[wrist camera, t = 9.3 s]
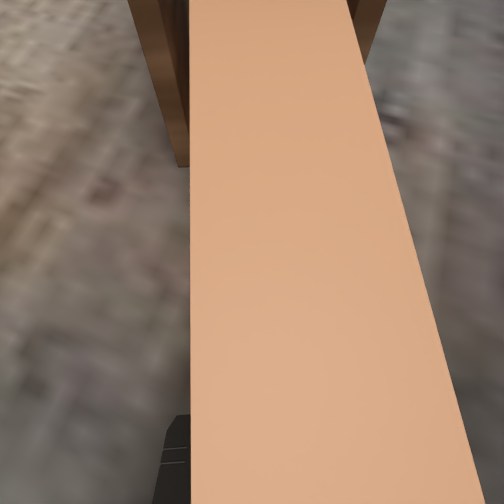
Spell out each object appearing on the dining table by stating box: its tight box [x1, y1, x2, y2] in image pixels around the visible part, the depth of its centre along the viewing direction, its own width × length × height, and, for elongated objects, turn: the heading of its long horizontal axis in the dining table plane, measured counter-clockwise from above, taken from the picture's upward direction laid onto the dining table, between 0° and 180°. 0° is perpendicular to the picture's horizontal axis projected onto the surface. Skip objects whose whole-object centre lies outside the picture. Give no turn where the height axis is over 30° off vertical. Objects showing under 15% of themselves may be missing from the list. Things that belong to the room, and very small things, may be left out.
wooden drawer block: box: [189, 0, 485, 504], centre depth 12 cm, size 18×4×10 cm, turn 4°
